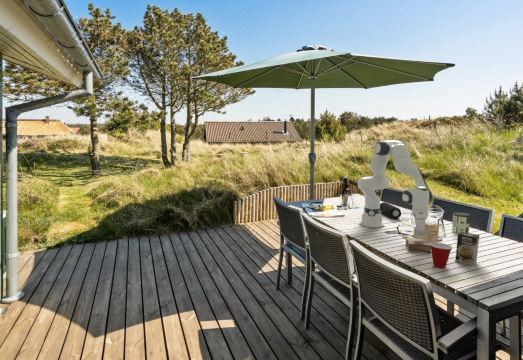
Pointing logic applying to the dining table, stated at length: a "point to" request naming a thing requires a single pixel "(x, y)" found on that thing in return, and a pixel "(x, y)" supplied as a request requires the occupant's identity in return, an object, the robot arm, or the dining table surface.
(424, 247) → the walnut block
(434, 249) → the plastic cup
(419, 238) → the maple block
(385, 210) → the portable speaker
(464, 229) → the coffee can
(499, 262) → the dining table surface
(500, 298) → the dining table surface
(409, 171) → the robot arm
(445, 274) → the dining table surface
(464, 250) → the coffee box
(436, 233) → the supplement box
